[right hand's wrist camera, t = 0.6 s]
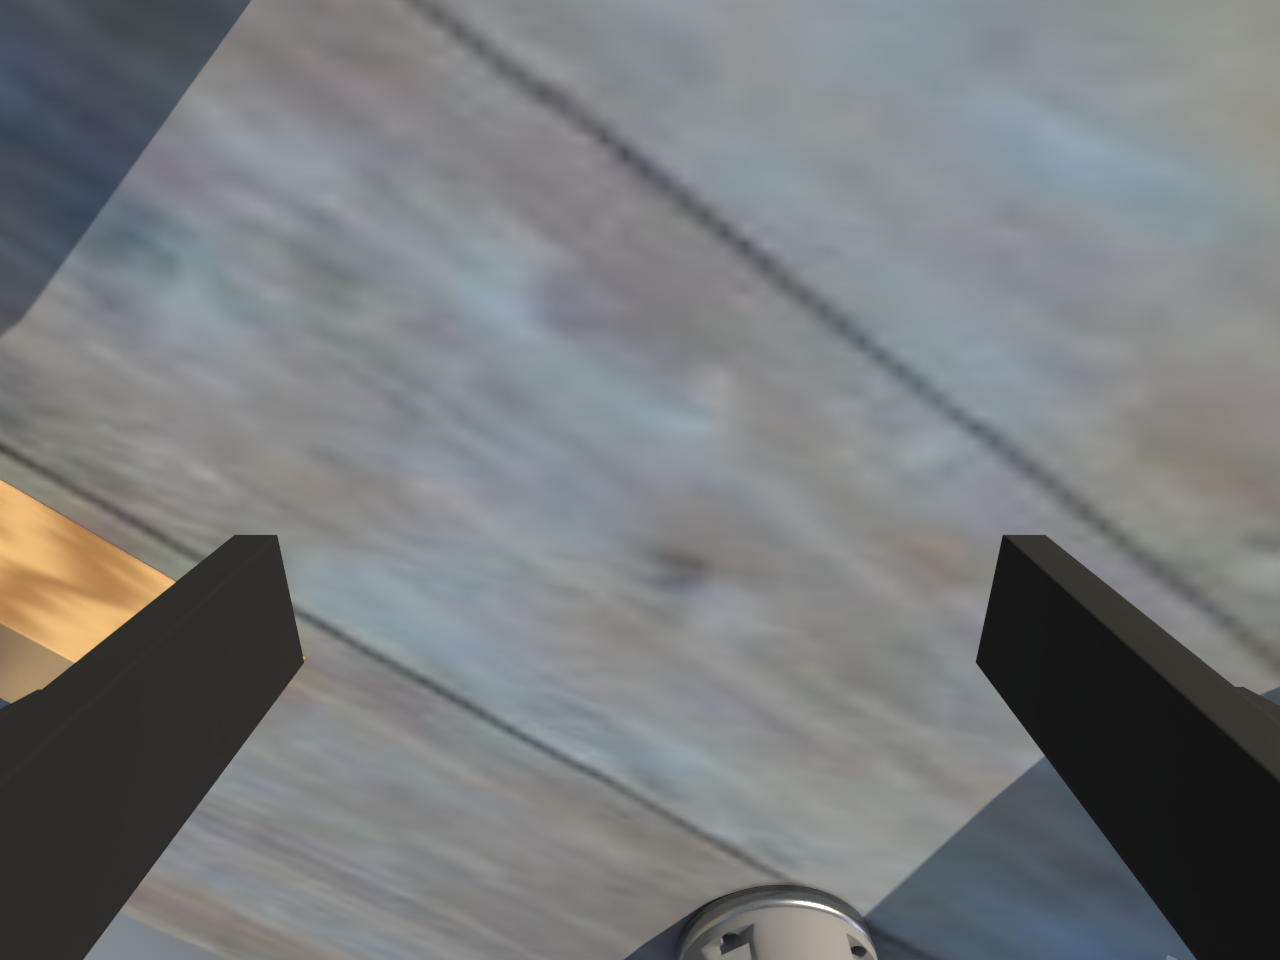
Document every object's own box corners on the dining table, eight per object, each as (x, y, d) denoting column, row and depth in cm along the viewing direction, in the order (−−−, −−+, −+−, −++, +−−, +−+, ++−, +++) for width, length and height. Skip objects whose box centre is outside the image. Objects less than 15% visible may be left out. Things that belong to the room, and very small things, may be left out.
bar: (306, 656, 44) (238, 749, 36) (272, 702, 45) (200, 800, 38) (-113, 413, 38) (-298, 463, 30) (-138, 474, 39) (-321, 536, 32)
